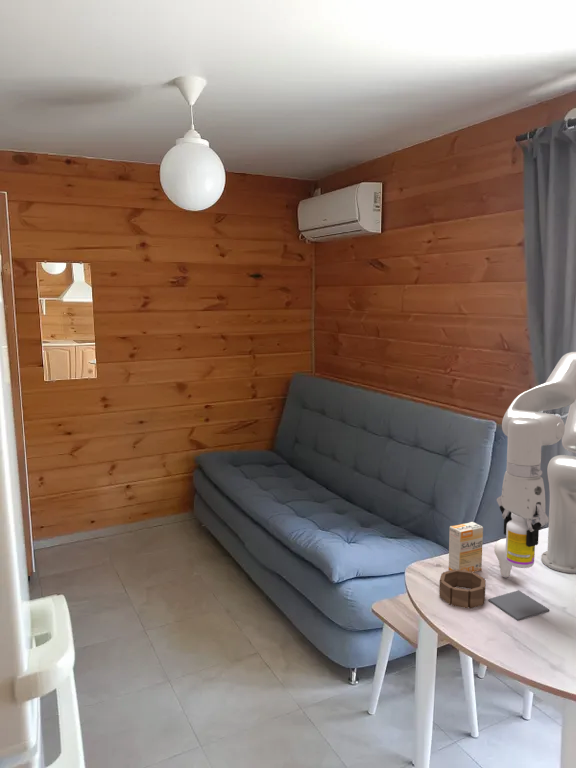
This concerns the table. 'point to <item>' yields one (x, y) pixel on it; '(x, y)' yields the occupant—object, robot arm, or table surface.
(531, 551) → the supplement bottle
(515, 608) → the mat
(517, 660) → the table surface
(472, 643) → the table surface
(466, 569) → the supplement box
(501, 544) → the lightbulb
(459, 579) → the ring stand
